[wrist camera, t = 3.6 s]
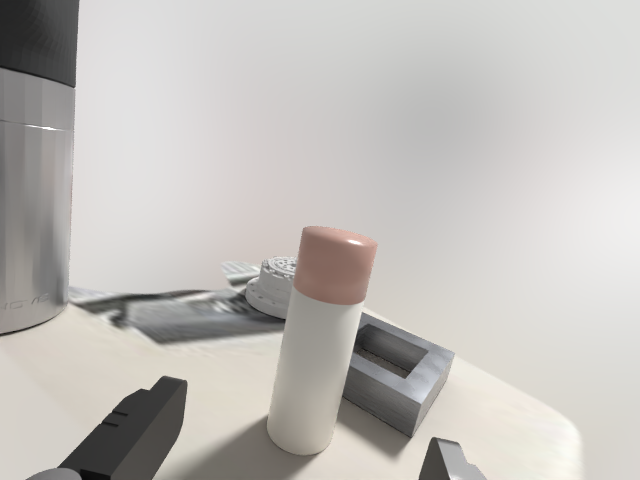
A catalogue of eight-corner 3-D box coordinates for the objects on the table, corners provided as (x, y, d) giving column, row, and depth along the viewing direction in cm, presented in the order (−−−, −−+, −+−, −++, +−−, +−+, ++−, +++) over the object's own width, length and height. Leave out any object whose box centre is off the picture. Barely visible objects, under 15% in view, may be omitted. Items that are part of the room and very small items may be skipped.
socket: (299, 370, 26) (305, 341, 26) (354, 334, 34) (360, 311, 33) (411, 438, 22) (421, 404, 21) (446, 379, 29) (454, 352, 29)
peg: (252, 426, 20) (287, 228, 18) (294, 395, 23) (329, 224, 21) (306, 468, 18) (355, 251, 15) (344, 428, 21) (389, 243, 19)
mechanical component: (237, 315, 34) (336, 330, 35) (243, 272, 33) (345, 289, 34) (251, 280, 43) (329, 292, 44) (256, 246, 42) (335, 260, 43)
